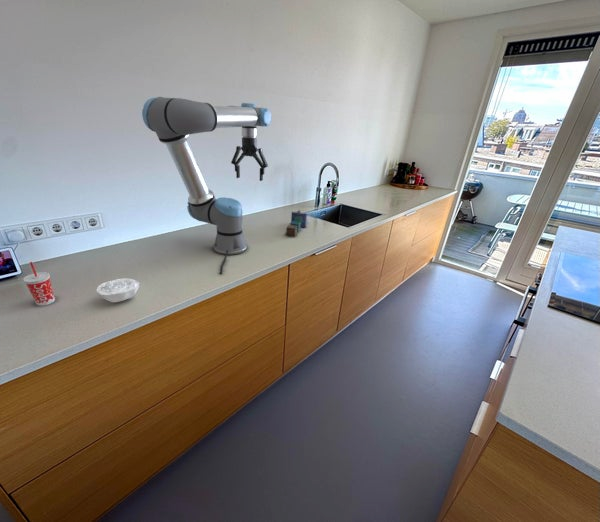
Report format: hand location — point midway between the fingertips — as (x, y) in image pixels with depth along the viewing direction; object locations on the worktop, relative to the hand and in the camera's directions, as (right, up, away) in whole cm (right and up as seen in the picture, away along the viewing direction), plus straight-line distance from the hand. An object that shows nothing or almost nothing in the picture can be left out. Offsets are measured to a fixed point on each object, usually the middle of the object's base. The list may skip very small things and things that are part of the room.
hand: (249, 179), depth 157 cm
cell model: (-32, -58, -62) cm, 91 cm away
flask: (+27, -25, +15) cm, 39 cm away
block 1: (+25, -27, +9) cm, 38 cm away
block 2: (+23, -31, +2) cm, 38 cm away
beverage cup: (-53, -58, -66) cm, 103 cm away
